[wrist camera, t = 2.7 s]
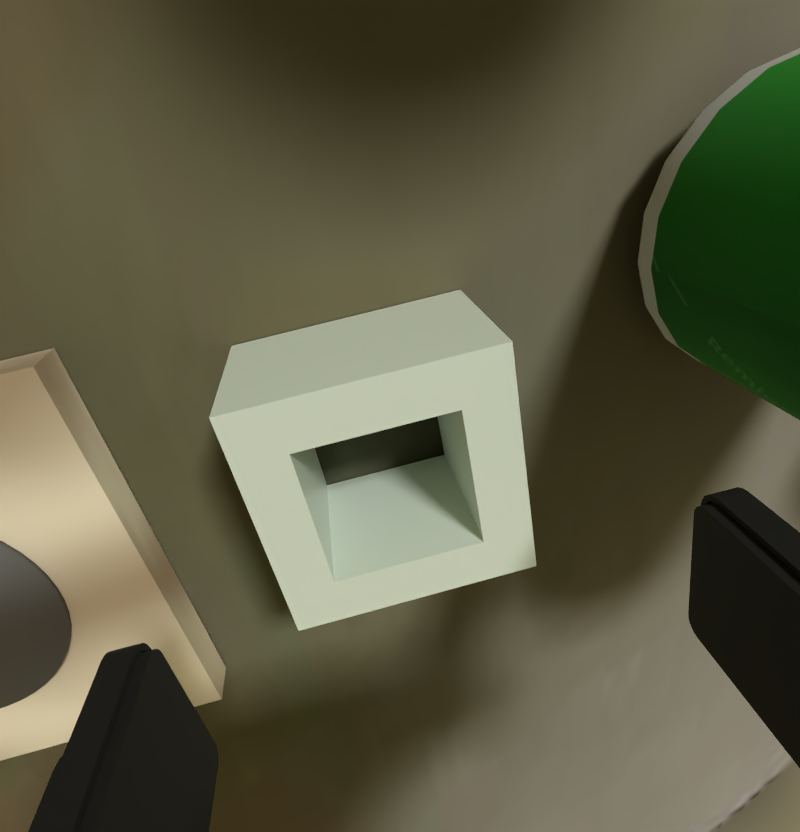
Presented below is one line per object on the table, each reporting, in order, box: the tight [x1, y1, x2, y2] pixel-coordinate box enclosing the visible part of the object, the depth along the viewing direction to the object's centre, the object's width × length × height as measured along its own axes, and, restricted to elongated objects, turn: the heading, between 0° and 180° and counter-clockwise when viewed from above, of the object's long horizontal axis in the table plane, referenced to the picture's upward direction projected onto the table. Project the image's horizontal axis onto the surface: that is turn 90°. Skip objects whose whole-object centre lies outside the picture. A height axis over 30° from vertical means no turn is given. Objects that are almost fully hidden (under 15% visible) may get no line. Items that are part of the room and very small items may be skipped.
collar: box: [209, 290, 536, 631], centre depth 14 cm, size 6×6×4 cm
